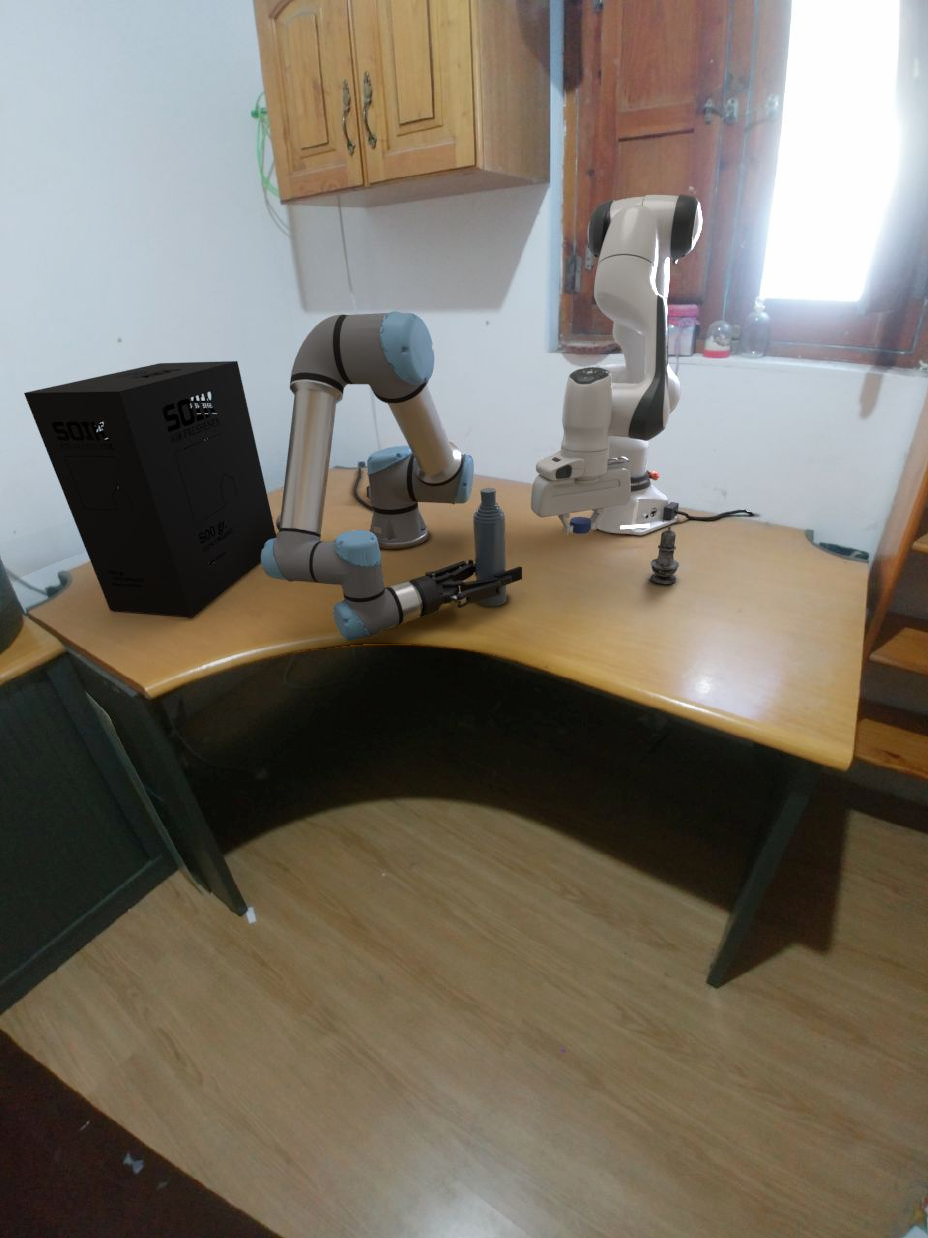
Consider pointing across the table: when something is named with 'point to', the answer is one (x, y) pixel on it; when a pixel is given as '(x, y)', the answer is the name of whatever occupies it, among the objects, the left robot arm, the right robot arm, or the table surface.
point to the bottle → (490, 543)
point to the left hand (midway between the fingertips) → (510, 567)
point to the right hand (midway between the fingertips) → (579, 531)
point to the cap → (581, 525)
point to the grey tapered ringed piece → (665, 559)
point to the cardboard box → (159, 481)
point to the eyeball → (278, 521)
